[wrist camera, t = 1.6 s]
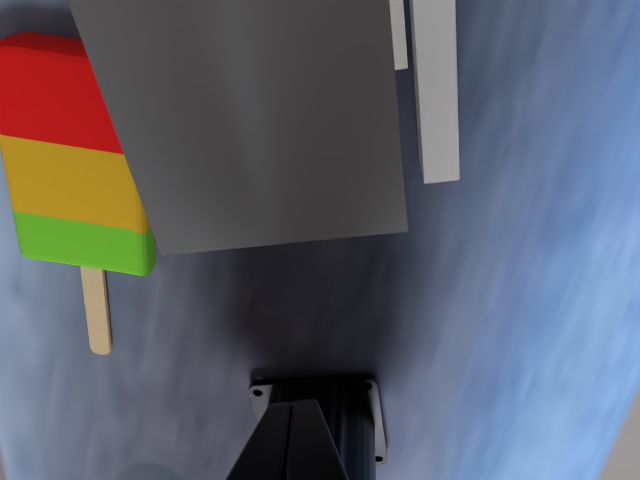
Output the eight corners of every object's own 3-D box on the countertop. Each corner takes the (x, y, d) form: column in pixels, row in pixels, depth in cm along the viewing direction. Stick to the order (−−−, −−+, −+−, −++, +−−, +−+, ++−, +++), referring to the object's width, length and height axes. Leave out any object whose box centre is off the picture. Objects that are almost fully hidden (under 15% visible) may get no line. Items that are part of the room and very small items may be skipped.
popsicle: (154, 46, 19) (134, 58, 18) (162, 348, 27) (149, 375, 26) (3, 22, 19) (-30, 32, 18) (56, 331, 27) (36, 357, 26)
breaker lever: (385, 63, 18) (408, 231, 8) (267, 79, 18) (161, 255, 9) (372, -78, 16) (384, -68, 6) (239, -54, 16) (63, -11, 7)
